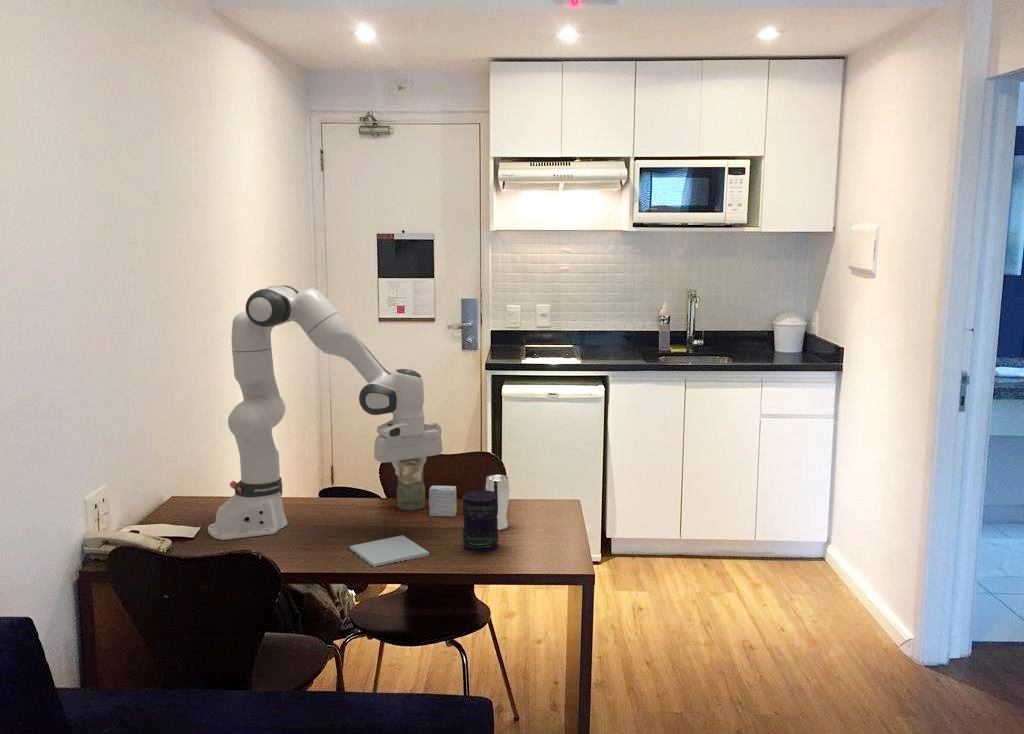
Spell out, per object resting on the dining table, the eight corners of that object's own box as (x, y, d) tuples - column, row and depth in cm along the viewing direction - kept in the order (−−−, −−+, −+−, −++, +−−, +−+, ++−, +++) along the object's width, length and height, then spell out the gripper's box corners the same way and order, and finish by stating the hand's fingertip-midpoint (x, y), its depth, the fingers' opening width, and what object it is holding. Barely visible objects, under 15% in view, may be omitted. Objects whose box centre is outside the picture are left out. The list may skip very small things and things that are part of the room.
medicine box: (456, 512, 274) (456, 485, 273) (454, 517, 270) (454, 489, 269) (431, 512, 275) (431, 485, 274) (429, 516, 271) (428, 489, 270)
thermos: (392, 512, 275) (390, 402, 269) (402, 501, 286) (399, 395, 281) (420, 513, 274) (418, 402, 268) (428, 502, 285) (427, 395, 280)
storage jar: (462, 541, 249) (462, 490, 247) (497, 540, 249) (497, 489, 247) (462, 554, 239) (462, 500, 237) (499, 553, 240) (498, 500, 237)
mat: (374, 567, 229) (374, 564, 229) (350, 549, 243) (350, 545, 242) (428, 555, 238) (428, 552, 238) (402, 538, 251) (402, 535, 251)
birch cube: (405, 484, 250) (405, 466, 249) (397, 479, 254) (397, 463, 253) (421, 481, 253) (420, 464, 252) (413, 477, 257) (413, 460, 256)
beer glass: (488, 531, 257) (487, 481, 255) (483, 523, 264) (483, 475, 262) (511, 529, 258) (511, 480, 256) (506, 522, 265) (506, 473, 263)
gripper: (435, 420, 259) (436, 466, 261) (371, 428, 248) (372, 475, 250) (446, 424, 254) (446, 470, 256) (380, 432, 243) (381, 481, 245)
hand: (409, 473), depth 253 cm, fingers closed on birch cube, 5 cm apart
